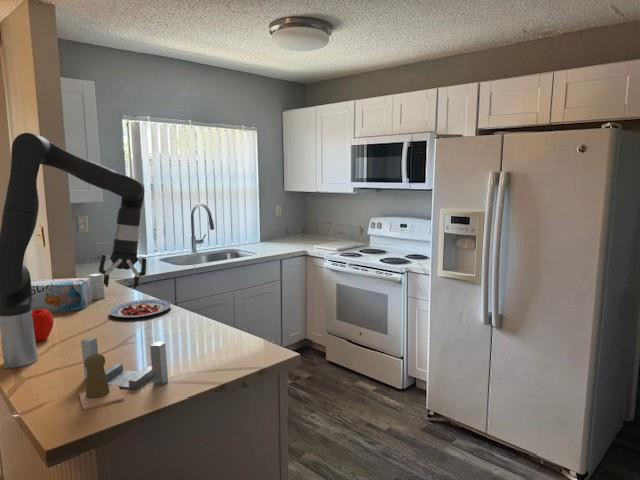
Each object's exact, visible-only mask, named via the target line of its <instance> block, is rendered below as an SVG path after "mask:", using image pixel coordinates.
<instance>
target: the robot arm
mask: <svg viewBox="0 0 640 480" xmlns="http://www.w3.org/2000/svg"><path fill="white" fill-rule="evenodd" d="M10 156H11V157H10V158H11V160H10V174H9V180H8V185H7V189H6V196H5V200H4V205H3V210H2V216H1V217H2V218H1V225H0V344H1V352H2V353H1V354H2V359H3V367H4V369H8V368H11V369H12V368H13V369H14V368H21V367H26V366H28V365H31V364H34V363H36V362H37V360H38V351H37V343H36V341H35V333H34V325H33V317H32V308H31V302H32V288H31V280H32V279H31V274H30V271H29V269H28V267H27V266H26V265H24V259H25V254H26V250H27V248H28V246H29V244H30V242H31V239H32V237H33V234H34V232H35V229H36V226H37V221H38V215H39V208H40V204H39V202H40V201H39V193H38V186H37V180H38V174H39V170H40V166H41V165H43V166H48V167H52V168H56V169H57V170H60V171H63V172H65V173H68V174H70V175H72V176H73V177H75V178H77V179H79V180H81V181H83V182H86V183H87V184H90V185H92V186H95V187H97V188H99V189H102V190H105V191H109V192H110V193H113V194H115V195H118V196H120V197H121V203H120V207H119V209H118V211H117V218H116V225H115V229H114V234H113V237H114V238H113V246H112V251H111V252H112V253H111V255H107V254H105V253H102V254H101V256H100V263H99V268H98V272H99V274H102V275H103V284H104V287H107V288H108V287H109V281H110V274H111V272H113V271H114V270H115V269H118V270H123V269H124V270H125V271H126V270H131V272H132V273H133V275H134V277H133V285H132V288H133V289H136V288H138V286H139V282H140V277H143V276H145V277H146V273H147V258H145V257H138V249H139V248H138V247H139V238H140V223H141V211H142V207H143V202H144V197H145V186H144V185H143V184H142V183H141V182H140V181H139V180H138V179H136V178H133V177H130V176H129V175H125V174H122V173H120V172H117V171H115V170H113V169H111V168H109V167H106V166H103V165H102V164H99V163H98V162H95V161H92V160H89V159H87V158H83V157H81V156H78V155H75V154H74V153H71V152H69V151H68V150H65V149H63V148H61V147H59V146H58V145H56V144H55V143H53V142H52V141H49V140H48V139H46V138H45V137H44V136H41V134H40V135H39V134H36V133H31V132H23V133H21V134H18V135H17V136H16V137H15V138H14V139H13V141H12V144H11V155H10ZM109 260H110V261H111V262H112V264H111V265H109V267H108V268H106V269H104V268H105V264H106V262H108V261H109ZM137 262H138V263H139V264H140V266H141V267H140V269H141V270H140V272H138V270H137V268H136V267H135V266H134V265H135V264H136V263H137Z"/></svg>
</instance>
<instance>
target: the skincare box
mask: <svg viewBox="0 0 640 480" xmlns="http://www.w3.org/2000/svg"><path fill="white" fill-rule="evenodd" d="M87 278H90V281H91V291H92V300H95V301H96V300H97V301H98V300H102V299H105V285H104V283H103V282H104V274H103V273H92V274H91V273H90V274H88V276H87Z"/></svg>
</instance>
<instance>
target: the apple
mask: <svg viewBox="0 0 640 480" xmlns="http://www.w3.org/2000/svg"><path fill="white" fill-rule="evenodd" d="M32 317H33V325H34V333H35V341H36V342H42V341H45V340H46V339H48V338H49V336H50V334H51V332H52V331H53V327H54V318H53V315H52V312H49V311H48V310H47V309H35V310H32Z"/></svg>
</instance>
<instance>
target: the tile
mask: <svg viewBox="0 0 640 480" xmlns="http://www.w3.org/2000/svg"><path fill="white" fill-rule="evenodd" d="M109 390H110V392H109V393H108V394H107V395H106V396H103V397H100V398H96V399H90V398H87V397H86V391H84V392H80V393H78V394H79V400H80V404H81V407H82V411H87V410H90V409H95V408H98V407H102V406H105V405H110V404H113V403H117V402H121V401H124V400H125V397H124V395H123V393H122V391H121V388H119V386H118V384H115V385H111V386H109Z"/></svg>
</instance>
